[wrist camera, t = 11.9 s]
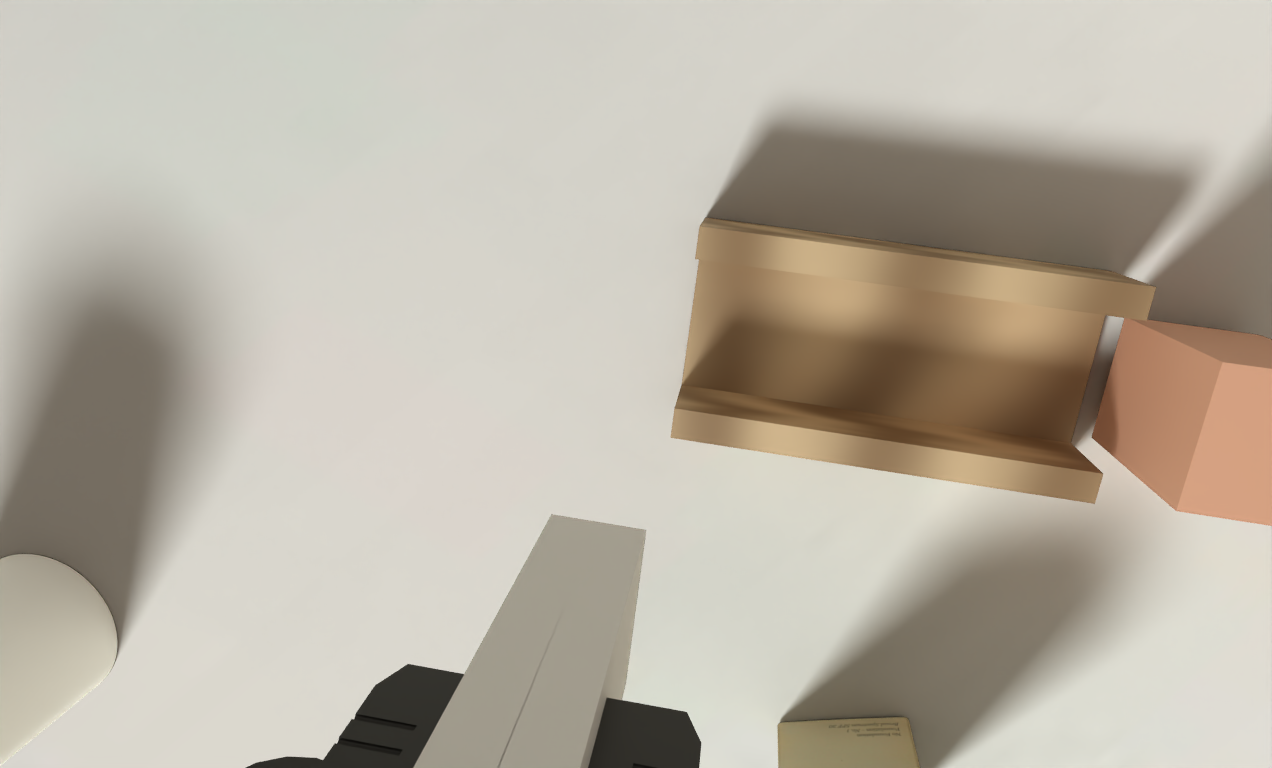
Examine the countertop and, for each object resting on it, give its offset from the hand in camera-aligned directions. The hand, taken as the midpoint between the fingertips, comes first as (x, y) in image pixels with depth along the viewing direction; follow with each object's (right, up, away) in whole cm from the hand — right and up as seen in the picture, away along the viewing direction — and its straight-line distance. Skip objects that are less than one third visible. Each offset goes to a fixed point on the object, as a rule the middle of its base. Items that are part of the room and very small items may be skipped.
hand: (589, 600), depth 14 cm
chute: (+11, +5, +23) cm, 26 cm away
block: (+22, +3, +21) cm, 31 cm away
